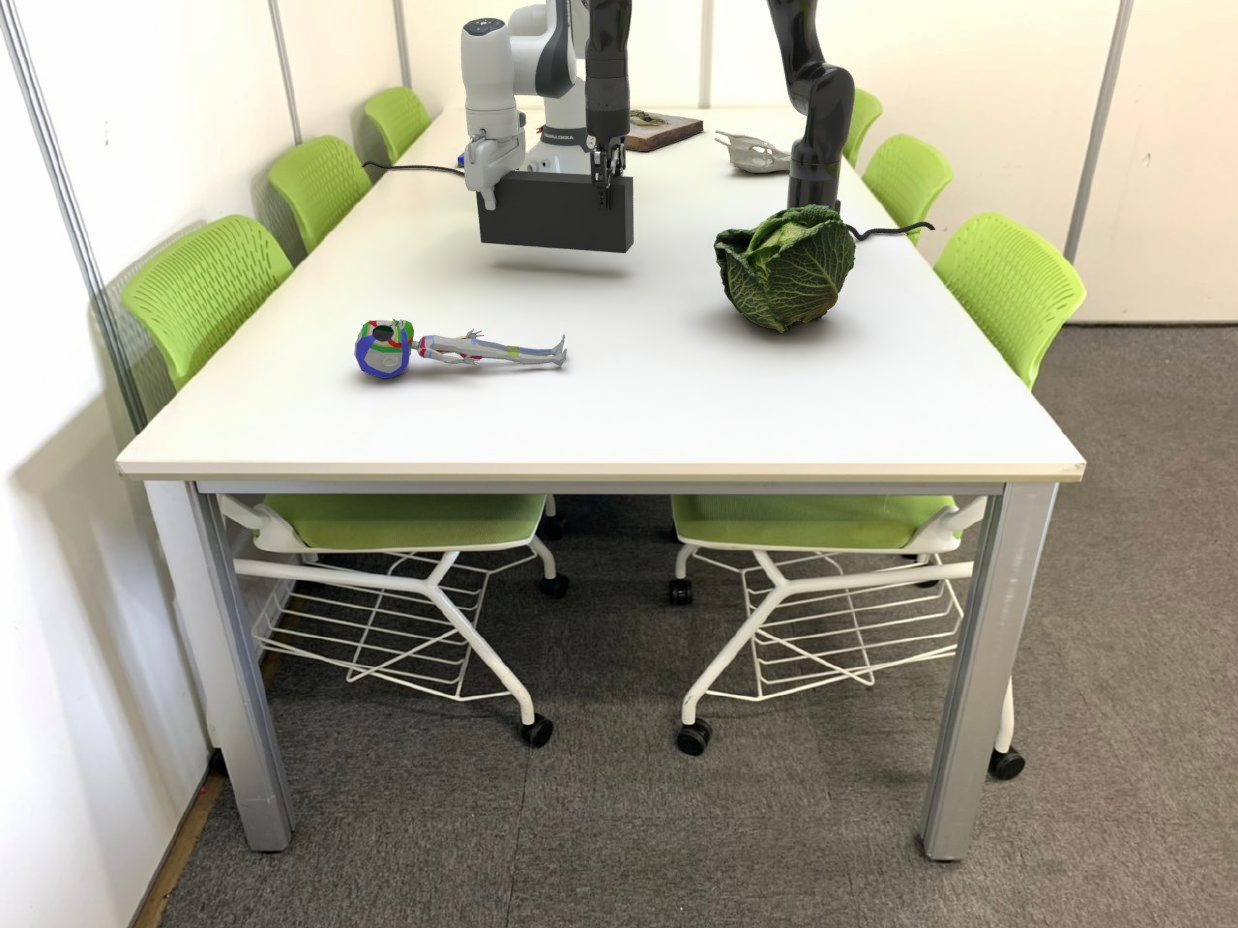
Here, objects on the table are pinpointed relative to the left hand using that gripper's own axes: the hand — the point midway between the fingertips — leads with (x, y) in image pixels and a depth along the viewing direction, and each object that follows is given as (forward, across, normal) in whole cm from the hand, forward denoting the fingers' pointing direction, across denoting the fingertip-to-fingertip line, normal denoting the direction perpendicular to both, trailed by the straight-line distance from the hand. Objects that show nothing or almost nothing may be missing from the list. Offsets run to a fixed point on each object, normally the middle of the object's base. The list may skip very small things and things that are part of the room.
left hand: (499, 203), depth 163 cm
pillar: (+12, +75, +39) cm, 86 cm away
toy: (+12, -43, -11) cm, 46 cm away
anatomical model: (+12, +79, -38) cm, 88 cm away
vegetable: (+12, -15, -54) cm, 57 cm away
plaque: (+12, +109, +4) cm, 110 cm away
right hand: (-1, 0, -21) cm, 21 cm away
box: (+7, 0, -11) cm, 13 cm away
